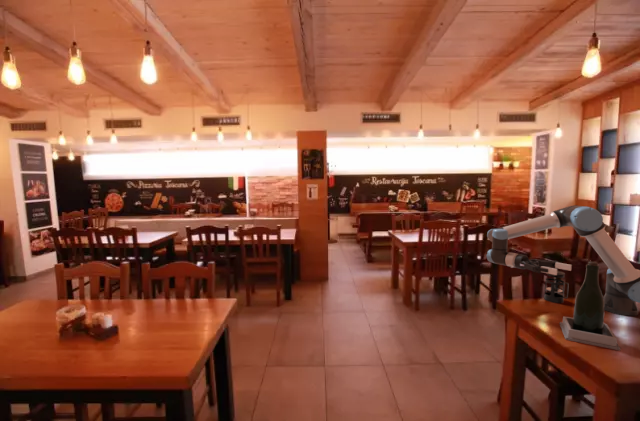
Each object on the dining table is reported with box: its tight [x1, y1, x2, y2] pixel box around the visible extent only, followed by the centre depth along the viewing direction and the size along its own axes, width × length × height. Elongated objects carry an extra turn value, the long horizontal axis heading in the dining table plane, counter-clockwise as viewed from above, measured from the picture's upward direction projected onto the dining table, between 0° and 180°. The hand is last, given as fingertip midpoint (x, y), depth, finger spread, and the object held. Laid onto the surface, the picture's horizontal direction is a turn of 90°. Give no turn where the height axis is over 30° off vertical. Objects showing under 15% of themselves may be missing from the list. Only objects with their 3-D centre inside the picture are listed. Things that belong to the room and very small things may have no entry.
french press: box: [543, 261, 570, 304], centre depth 184 cm, size 12×9×23 cm
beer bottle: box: [572, 261, 605, 335], centre depth 141 cm, size 10×10×33 cm
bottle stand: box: [559, 316, 621, 351], centre depth 142 cm, size 18×18×4 cm
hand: (564, 270), depth 149 cm, fingers open, 13 cm apart
